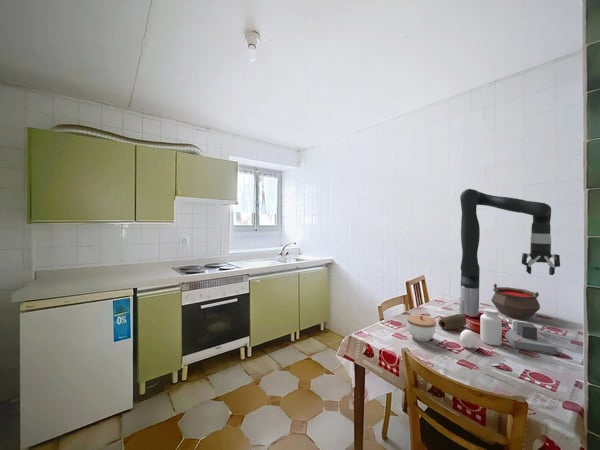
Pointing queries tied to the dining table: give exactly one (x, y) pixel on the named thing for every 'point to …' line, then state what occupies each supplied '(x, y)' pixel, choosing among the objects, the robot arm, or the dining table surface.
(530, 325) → the plug
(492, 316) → the pill bottle
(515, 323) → the white l-shaped bracket
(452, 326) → the olive brown hollow cylinder
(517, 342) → the socket
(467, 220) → the robot arm
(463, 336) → the egg
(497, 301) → the brown cauldron
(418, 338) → the lidded bowl
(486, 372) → the dining table surface
